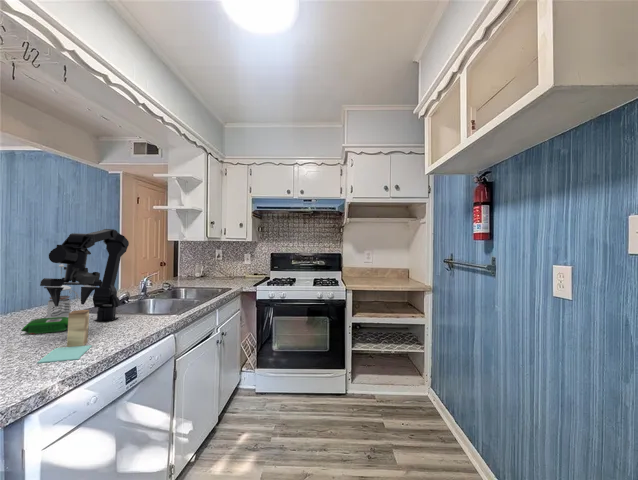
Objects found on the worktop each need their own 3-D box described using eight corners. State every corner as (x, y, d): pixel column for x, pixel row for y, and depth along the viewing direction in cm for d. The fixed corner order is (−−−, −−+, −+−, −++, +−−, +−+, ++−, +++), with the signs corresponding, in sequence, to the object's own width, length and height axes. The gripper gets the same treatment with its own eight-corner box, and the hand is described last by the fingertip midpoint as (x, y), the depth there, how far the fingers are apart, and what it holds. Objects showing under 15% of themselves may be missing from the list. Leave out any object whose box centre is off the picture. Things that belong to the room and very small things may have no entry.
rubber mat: (56, 349, 97) (56, 347, 97) (91, 346, 101) (91, 345, 101) (37, 363, 86) (37, 362, 86) (78, 359, 90) (78, 358, 90)
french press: (40, 317, 131) (43, 263, 131) (72, 313, 141) (75, 263, 141) (48, 321, 125) (51, 265, 126) (80, 316, 135) (83, 264, 136)
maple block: (72, 343, 103) (74, 310, 103) (87, 342, 104) (89, 309, 104) (66, 347, 98) (68, 313, 98) (82, 346, 100) (84, 312, 100)
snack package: (72, 332, 114) (73, 319, 115) (19, 336, 107) (20, 322, 107) (77, 327, 121) (78, 315, 121) (28, 330, 114) (29, 317, 114)
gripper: (65, 263, 101) (58, 308, 98) (114, 266, 118) (109, 304, 116) (42, 263, 103) (35, 306, 101) (94, 266, 121) (88, 303, 119)
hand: (70, 305), depth 109 cm, fingers open, 9 cm apart
